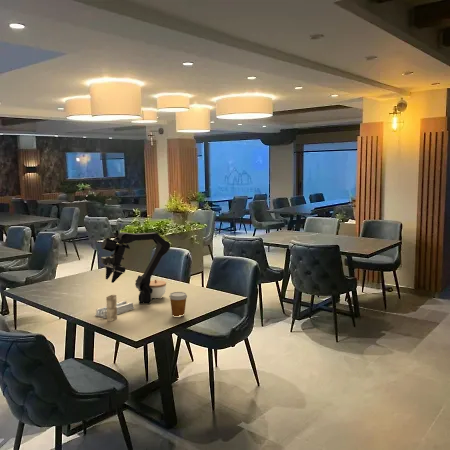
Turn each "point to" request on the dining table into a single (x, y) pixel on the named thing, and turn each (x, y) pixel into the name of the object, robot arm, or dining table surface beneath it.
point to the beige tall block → (111, 307)
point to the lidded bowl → (157, 288)
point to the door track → (120, 309)
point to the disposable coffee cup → (178, 303)
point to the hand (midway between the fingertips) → (109, 280)
